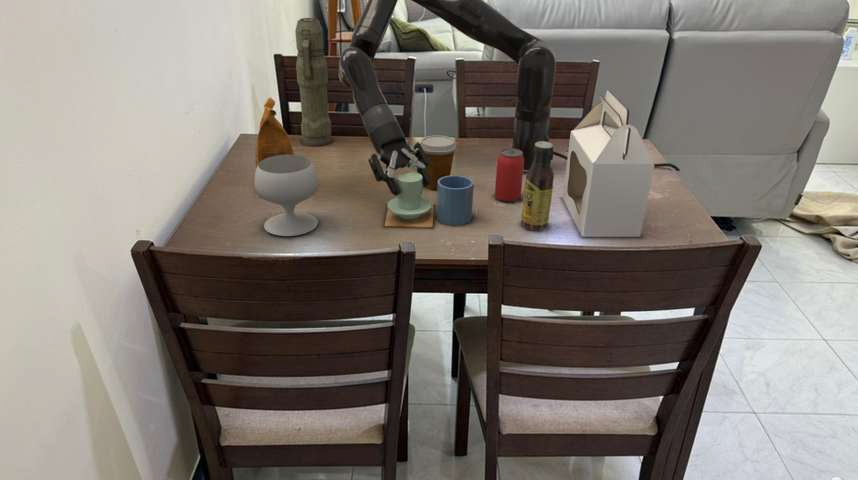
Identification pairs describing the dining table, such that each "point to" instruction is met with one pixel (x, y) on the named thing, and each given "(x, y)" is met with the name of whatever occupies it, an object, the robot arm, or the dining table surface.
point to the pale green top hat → (409, 197)
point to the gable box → (607, 173)
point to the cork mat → (410, 220)
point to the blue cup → (454, 200)
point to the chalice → (287, 192)
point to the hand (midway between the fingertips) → (412, 189)
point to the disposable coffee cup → (438, 157)
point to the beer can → (509, 175)
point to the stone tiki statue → (312, 82)
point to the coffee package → (271, 136)
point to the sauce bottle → (538, 188)
